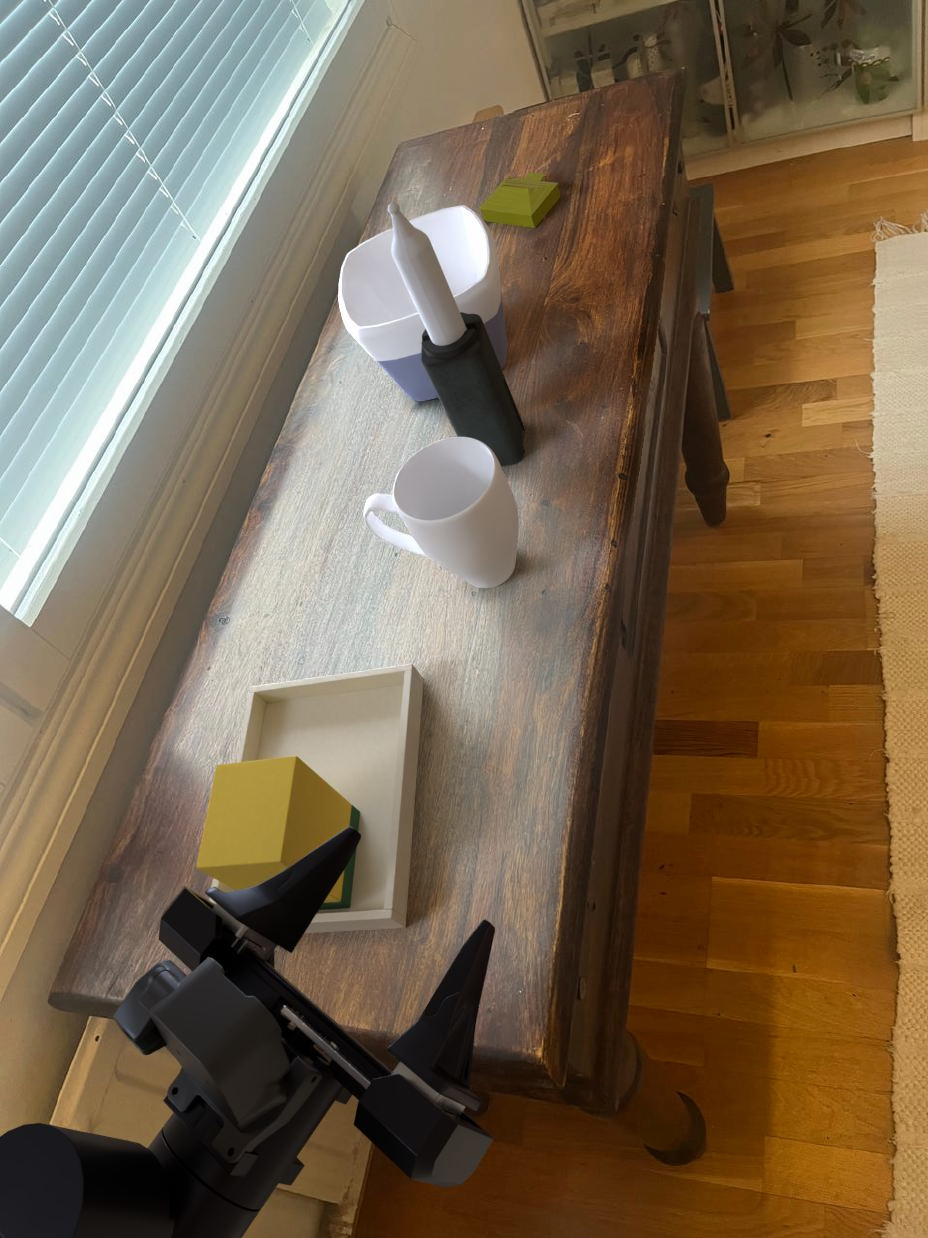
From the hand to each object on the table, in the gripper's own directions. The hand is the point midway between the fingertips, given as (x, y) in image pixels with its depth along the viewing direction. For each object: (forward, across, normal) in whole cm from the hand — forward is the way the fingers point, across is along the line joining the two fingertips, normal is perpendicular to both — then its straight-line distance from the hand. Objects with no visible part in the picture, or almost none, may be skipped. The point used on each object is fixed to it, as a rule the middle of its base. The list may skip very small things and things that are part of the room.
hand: (419, 874), depth 47 cm
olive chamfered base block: (+66, +45, +14) cm, 81 cm away
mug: (+24, +21, +15) cm, 35 cm away
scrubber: (-2, +16, +16) cm, 22 cm away
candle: (+36, +26, +15) cm, 47 cm away
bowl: (+44, +38, +15) cm, 60 cm away
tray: (+2, +18, +16) cm, 24 cm away
